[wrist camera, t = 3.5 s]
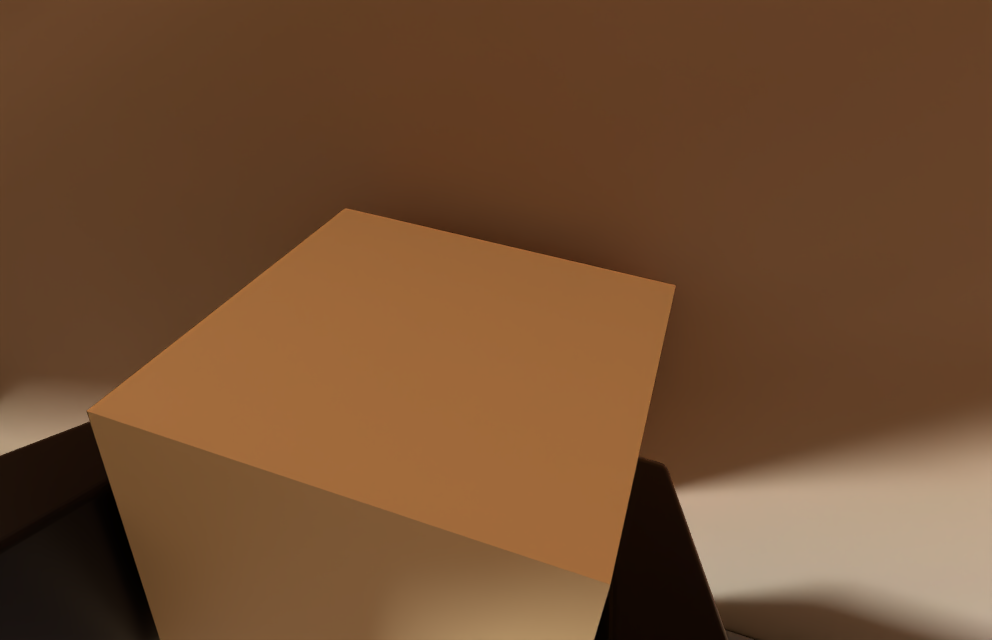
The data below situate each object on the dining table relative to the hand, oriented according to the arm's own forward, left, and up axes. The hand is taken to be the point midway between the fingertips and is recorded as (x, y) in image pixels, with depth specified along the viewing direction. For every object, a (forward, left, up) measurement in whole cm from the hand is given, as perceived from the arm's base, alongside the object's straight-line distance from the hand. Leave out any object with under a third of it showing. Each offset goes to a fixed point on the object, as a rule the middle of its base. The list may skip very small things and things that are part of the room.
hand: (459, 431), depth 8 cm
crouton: (0, 0, -1) cm, 1 cm away
